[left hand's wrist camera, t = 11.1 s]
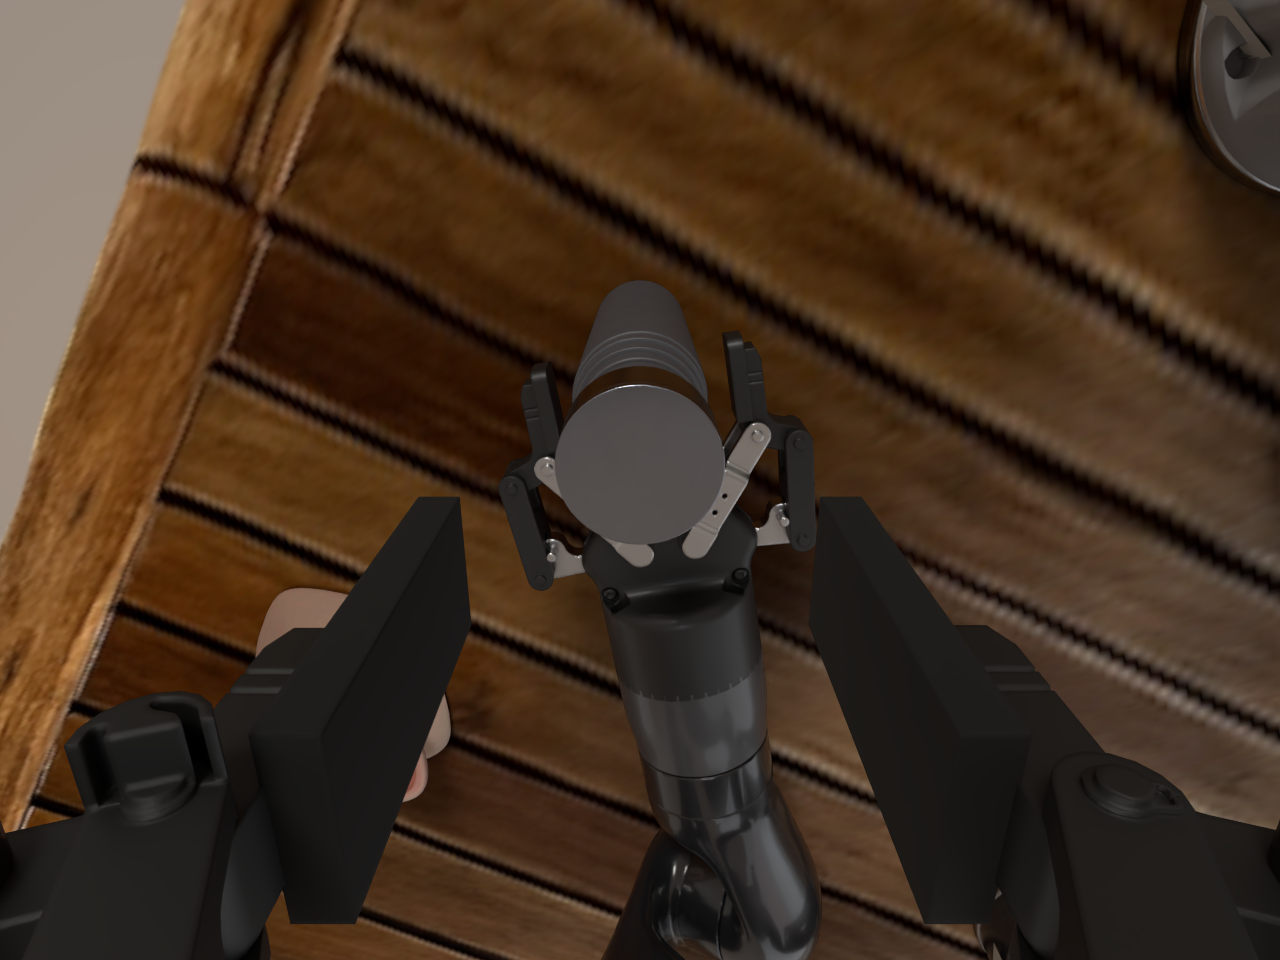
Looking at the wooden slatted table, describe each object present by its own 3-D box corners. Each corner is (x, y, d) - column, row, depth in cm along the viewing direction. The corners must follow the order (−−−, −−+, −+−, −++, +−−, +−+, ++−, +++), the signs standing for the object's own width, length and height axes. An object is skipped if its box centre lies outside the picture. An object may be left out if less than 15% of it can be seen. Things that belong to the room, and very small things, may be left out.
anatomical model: (201, 623, 41) (414, 620, 41) (238, 587, 45) (433, 585, 45) (250, 814, 46) (441, 812, 46) (280, 768, 49) (456, 765, 49)
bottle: (626, 262, 38) (612, 340, 19) (701, 312, 39) (764, 438, 19) (579, 338, 40) (519, 487, 20) (652, 385, 41) (664, 571, 21)
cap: (615, 334, 20) (613, 350, 18) (748, 419, 21) (759, 444, 19) (534, 463, 22) (523, 491, 20) (661, 538, 22) (663, 573, 20)
